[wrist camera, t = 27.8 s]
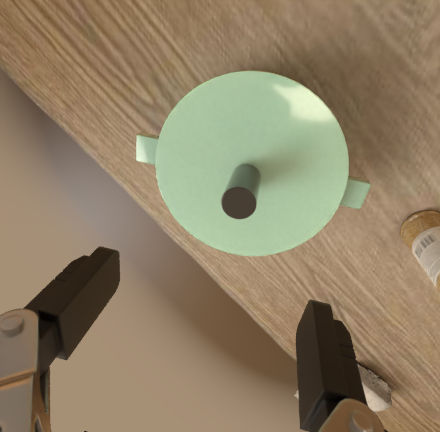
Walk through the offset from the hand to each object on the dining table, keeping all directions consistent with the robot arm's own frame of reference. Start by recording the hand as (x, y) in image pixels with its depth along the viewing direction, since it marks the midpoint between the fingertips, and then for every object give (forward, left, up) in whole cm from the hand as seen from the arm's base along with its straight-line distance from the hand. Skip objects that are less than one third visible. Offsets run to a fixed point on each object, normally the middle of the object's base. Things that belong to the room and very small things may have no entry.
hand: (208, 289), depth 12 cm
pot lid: (0, 0, -14) cm, 14 cm away
